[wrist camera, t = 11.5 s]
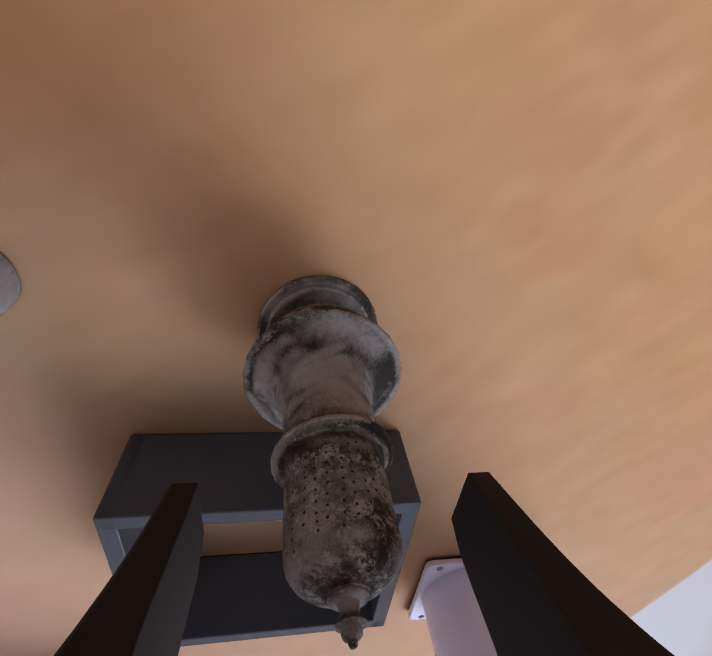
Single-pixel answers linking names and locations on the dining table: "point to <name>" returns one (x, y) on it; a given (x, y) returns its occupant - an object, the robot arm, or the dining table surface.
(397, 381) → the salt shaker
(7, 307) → the hip flask
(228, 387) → the dining table surface
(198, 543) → the robot arm
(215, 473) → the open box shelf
